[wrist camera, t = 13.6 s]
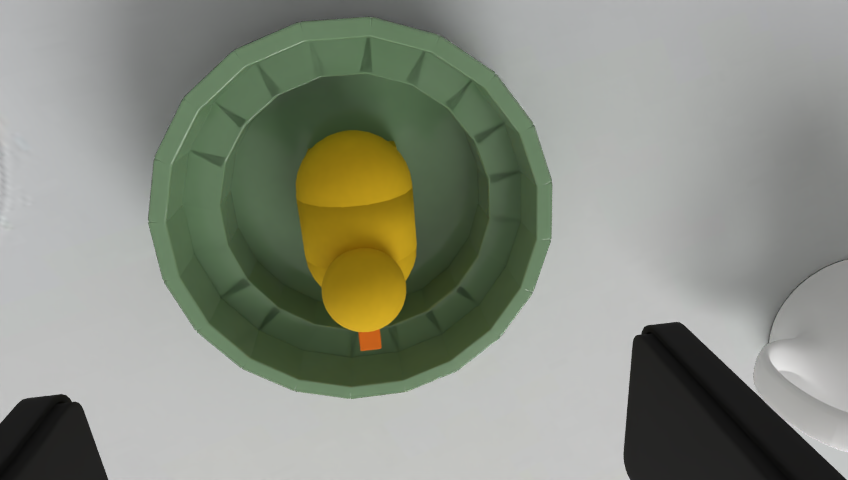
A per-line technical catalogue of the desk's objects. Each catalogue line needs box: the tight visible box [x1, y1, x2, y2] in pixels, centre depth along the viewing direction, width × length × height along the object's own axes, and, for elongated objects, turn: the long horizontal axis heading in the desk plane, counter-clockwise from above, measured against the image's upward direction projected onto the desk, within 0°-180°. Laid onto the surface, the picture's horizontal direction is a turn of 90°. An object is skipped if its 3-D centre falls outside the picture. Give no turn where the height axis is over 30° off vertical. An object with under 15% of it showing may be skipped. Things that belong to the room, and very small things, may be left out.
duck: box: [296, 130, 417, 351], centre depth 22 cm, size 8×4×7 cm, turn 4°
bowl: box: [148, 17, 552, 399], centre depth 23 cm, size 14×14×5 cm
